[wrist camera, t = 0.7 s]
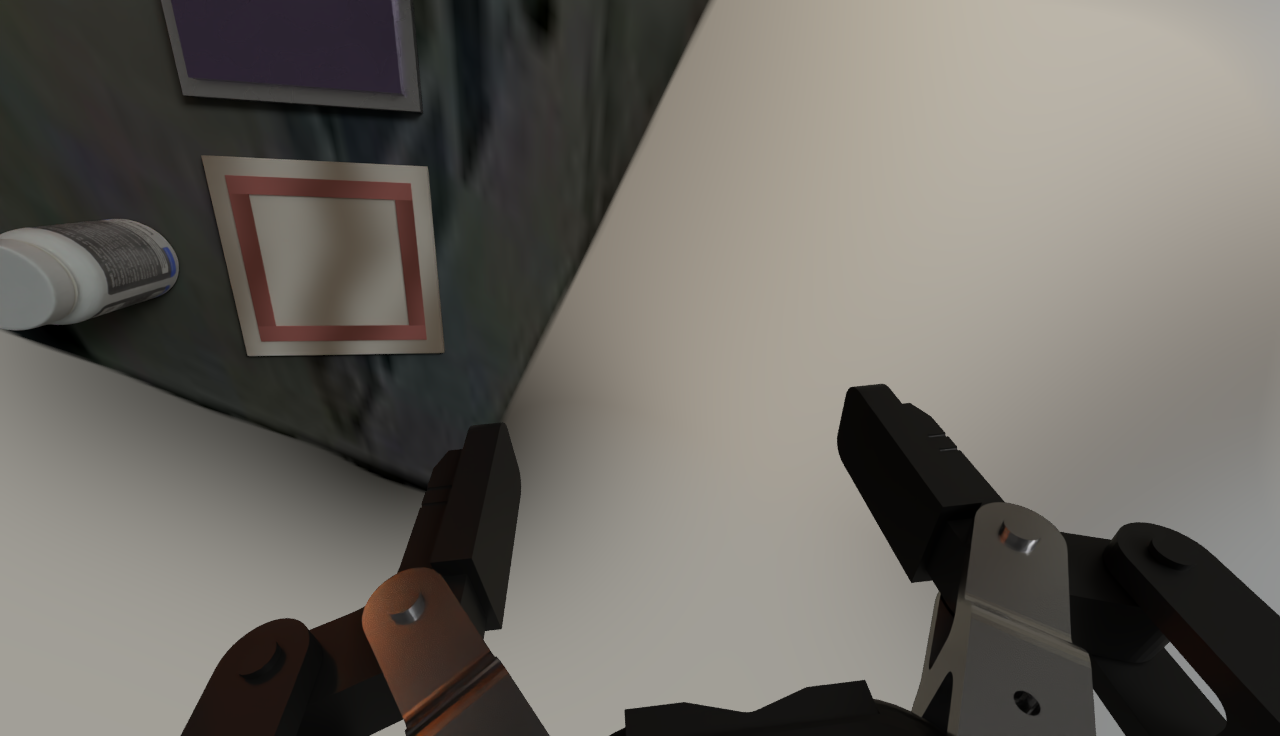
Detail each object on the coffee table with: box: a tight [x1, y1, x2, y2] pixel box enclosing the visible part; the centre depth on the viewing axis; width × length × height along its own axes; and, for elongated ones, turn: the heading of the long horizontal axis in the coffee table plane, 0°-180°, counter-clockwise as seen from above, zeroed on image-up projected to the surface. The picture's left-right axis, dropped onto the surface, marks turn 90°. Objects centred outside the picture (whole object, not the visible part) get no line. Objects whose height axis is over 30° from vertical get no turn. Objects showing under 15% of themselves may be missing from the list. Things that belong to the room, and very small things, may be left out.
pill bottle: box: [0, 219, 179, 330], centre depth 26 cm, size 5×5×8 cm
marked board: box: [201, 155, 445, 356], centre depth 32 cm, size 12×12×1 cm
